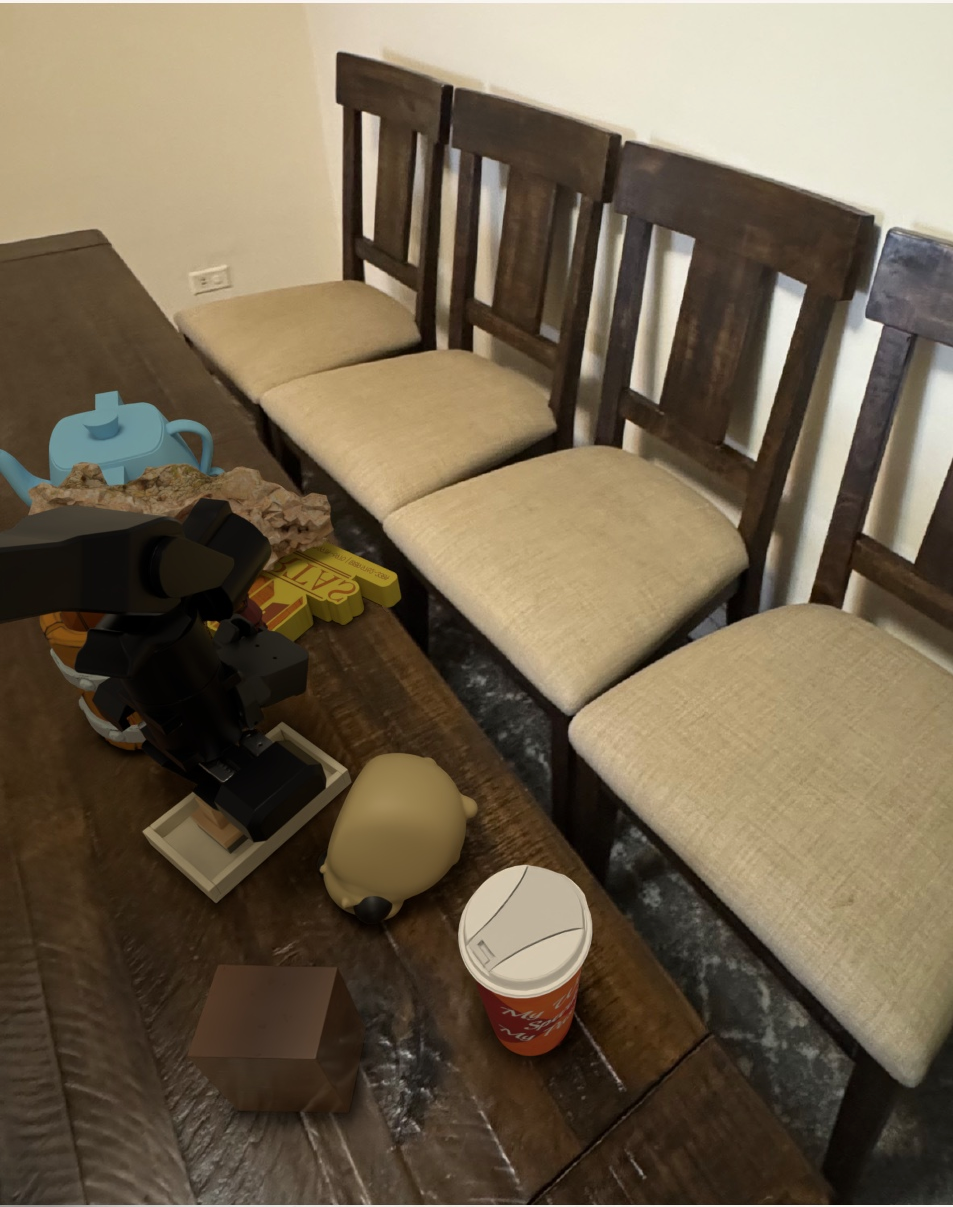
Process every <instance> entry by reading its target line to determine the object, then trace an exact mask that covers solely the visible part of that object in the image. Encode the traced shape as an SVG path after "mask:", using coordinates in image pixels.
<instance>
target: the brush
mask: <svg viewBox="0 0 953 1207" xmlns="http://www.w3.org/2000/svg"><path fill="white" fill-rule="evenodd" d="M195 799H196V801H197V803H198V805H199V808H198V809H197V810H195V811H194V812H193V813H192V814H190V816H191V818H192V820H193V821H194V822H195V823H197V825H198V827H199V828H200V829H202V830H203V831H204V832H205V833H206V834H207V835H209V836H210V837H211V838H212V839H213V840H214V841H216V842H217V843H218V844H219V845H220V846H221V847H223V848H224V849H225V850H226V851H227V852H229V853H230V854H231V853H232V852H233V851H235V850H236V849H237V848H238V847H239V846H240V845H242V844H243V843H244V842H245V841H246V840H247V839H249V838H248V837H247V836H245V835H244V834H243V833H242V832H241V831H239V830H238V829H237V828H236V827H235V826H233V825H232V824H231V823H230V822H229V821H228V820H227V819H226V818H225V817H224V815H223V814H222V813H221V812H220V811H216V810H214V809H212V808H211V807H210V806H209V805H208V804H206V803H205V802H204V801H203V800H202V799H200V798H199V797H198V796H197V797H196V798H195Z"/></svg>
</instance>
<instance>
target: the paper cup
mask: <svg viewBox="0 0 953 1207" xmlns="http://www.w3.org/2000/svg"><path fill="white" fill-rule="evenodd" d="M457 934H458V936H457V937H458V947H459V952H460V956H461V958H462V961H463V963H464V966H465V967H466V968H467V971H468V973H469V974H470V975H471V976H472V977H473V978H474V981H475V984H476V988H477V990H478V995H479V996H480V999H481V1001H482V1004H483V1006H484V1009H485V1012H486V1014H487V1017H488V1020H489V1022H490V1025H491V1027H492V1029H493V1032H494V1034H495V1036H496V1037H497V1039H498V1040H499V1042H500V1043H501V1044H502V1045H503V1046H504V1047H505V1048H507V1050H509V1051H511V1052H513V1053H515V1054H517V1055H520V1056H526V1057H534V1056H541V1055H544V1054H546V1053H548V1052H551V1051H552V1050H554V1049H555V1048H556V1047H557V1046H559V1044H560V1043H561V1042H562V1041H563V1040H564V1039H565V1037H566V1035H567V1034H568V1032H569V1030H570V1029H571V1025H572V1022H573V1018H574V1014H575V1009H576V1003H577V998H578V992H579V986H580V985H579V984H580V980H581V974H582V967H583V964H584V962H585V960H586V958H587V957H588V954H589V951H590V948H591V944H592V939H593V920H592V915H591V910H590V908H589V906H588V903H587V898H586V895H585V893H584V892H583V890H582V889H581V888H580V887H579V885H577V884H576V883H575V882H574V881H573V880H572V879H570V878H569V877H568V876H566V875H565V874H563V873H559V872H556V871H553V870H551V869H548V868H544V867H540V866H535V865H529V864H521V865H514V866H511V867H508V868H504V869H502V870H499V871H498V872H496V873H495V874H493V875H491V876H490V877H488V878H487V879H486V880H485V881H484V882H482V884H481V885H480V886H479V887H478V888H477V889H476V890H475V891H474V892H473V894H472V895H471V897H470V898H469V900H468V901H467V903H466V904H465V907H464V909H463V911H462V914H461V916H460V921H459V925H458V932H457Z"/></svg>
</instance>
